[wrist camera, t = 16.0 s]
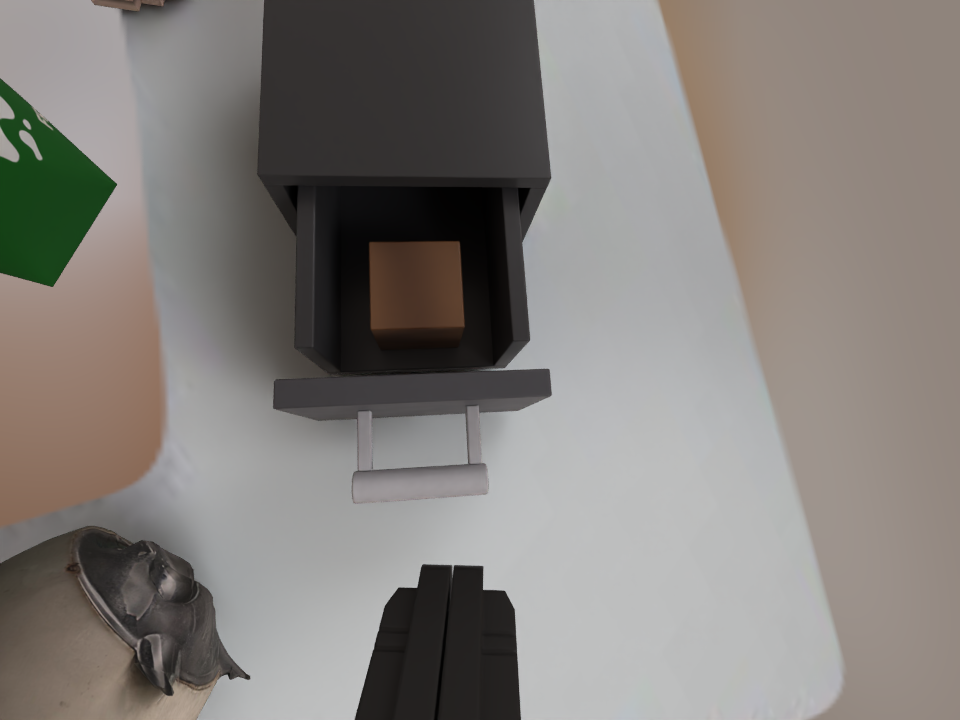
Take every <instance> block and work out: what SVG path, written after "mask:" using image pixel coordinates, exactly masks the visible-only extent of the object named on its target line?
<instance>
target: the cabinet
mask: <svg viewBox="0 0 960 720" xmlns="http://www.w3.org/2000/svg"><path fill="white" fill-rule="evenodd" d="M257 174H258V176H259V178H260V179H261V181H262V183H263V184H264V186H265V188H266V189H267V191H268V192H269V194H270V196H271V197H272V199H273V200H274V202H275V204H276V205H277V207H278V208H279V210H280V212H281V213H282V215H283V216H284V218H285V220H286V221H287V223H288V225H289V226H290V228H291V229H292V231H293V233H294V234H295V236H296V237H297V191H298V185H305V186H411V187H516V188H518V197H519V210H520V222H521V234H522V242H523V240H524V237H525V235H526V233H527V231H528V228H529V226H530V224H531V222H532V220H533V217H534V215H535V213H536V211H537V208H538V206H539V204H540V202H541V199H542V197H543V195H544V193H545V190H546V188H547V186H548V184H549V182H550V179H551V172H550V161H549V151H548V141H547V131H546V121H545V110H544V100H543V90H542V80H541V69H540V59H539V49H538V39H537V28H536V18H535V8H534V0H264V19H263V45H262V70H261V96H260V121H259V147H258V173H257Z"/></svg>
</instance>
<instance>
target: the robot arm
mask: <svg viewBox="0 0 960 720" xmlns="http://www.w3.org/2000/svg"><path fill="white" fill-rule="evenodd" d="M355 720H521V715H520V697H519V679H518V661H517V643H516V626H515V609H514V608H513V606H512V604H511V602H510V600H509V598H508V596H507V594H506V592H505V591H498V590H483V566H463V565H454V570H453V579H452V565H426V564H423V565H422V567H421V572H420V577H419V582H418V587H417V588H398V589H397V590H396V592H395V593H394V594H393V596H392V597H391V598H390V600H389V601H388V602H387V604H386V605H385V608H384V612H383V615H382V619H381V623H380V627H379V632H378V634H377V638H376V642H375V647H374V650H373V653H372V657H371V660H370V664H369V668H368V672H367V675H366V679H365V683H364V687H363V690H362V694H361V698H360V702H359V706H358V709H357V713H356V717H355Z"/></svg>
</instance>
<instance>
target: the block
mask: <svg viewBox="0 0 960 720" xmlns="http://www.w3.org/2000/svg"><path fill="white" fill-rule="evenodd" d="M369 292H370V330H371V332H372V334H373V336H374V338H375V340H376V342H377V344H378V346H379V348H380V350H401V349H429V348H456V347H459V345H460V341H461V338H462V334H463V331H464V327H465V319H464V302H463V284H462V267H461V249H460V242H459V241H410V242H369Z"/></svg>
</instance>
